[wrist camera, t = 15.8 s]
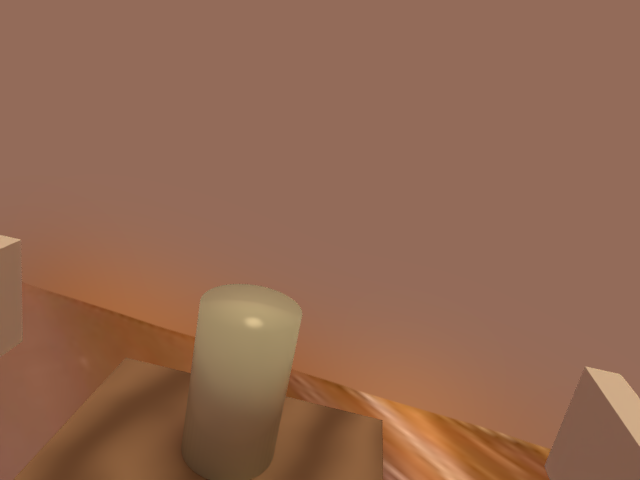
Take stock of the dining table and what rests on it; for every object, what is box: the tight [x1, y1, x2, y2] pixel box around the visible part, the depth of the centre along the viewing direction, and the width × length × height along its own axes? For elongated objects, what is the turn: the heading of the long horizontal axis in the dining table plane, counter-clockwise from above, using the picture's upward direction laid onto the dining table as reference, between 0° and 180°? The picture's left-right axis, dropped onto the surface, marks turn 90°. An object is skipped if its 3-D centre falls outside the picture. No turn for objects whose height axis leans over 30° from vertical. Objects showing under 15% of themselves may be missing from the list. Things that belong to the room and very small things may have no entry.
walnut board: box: [14, 358, 383, 480], centre depth 35 cm, size 22×14×2 cm, turn 83°
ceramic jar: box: [181, 284, 302, 480], centre depth 33 cm, size 6×6×11 cm
